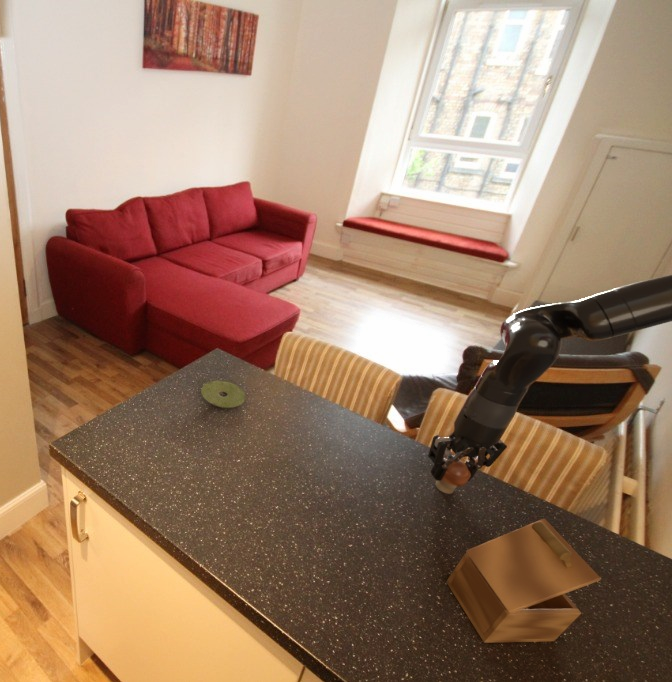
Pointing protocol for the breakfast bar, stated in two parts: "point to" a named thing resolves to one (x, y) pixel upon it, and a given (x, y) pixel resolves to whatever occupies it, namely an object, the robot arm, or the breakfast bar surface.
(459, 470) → the mushroom
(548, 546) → the lid
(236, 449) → the breakfast bar surface
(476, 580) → the breadbox
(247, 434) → the breakfast bar surface
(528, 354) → the robot arm
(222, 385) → the green disc with hole
